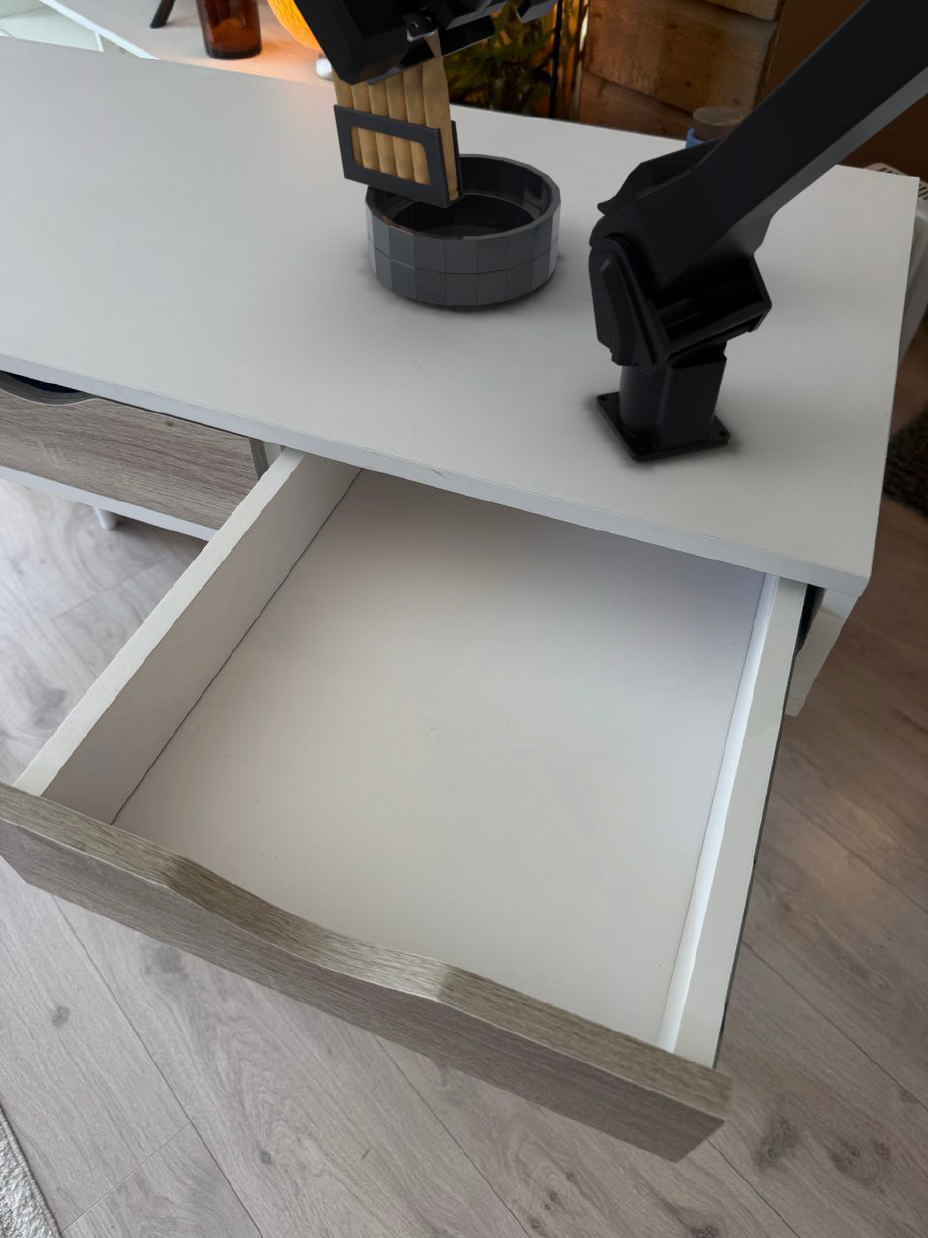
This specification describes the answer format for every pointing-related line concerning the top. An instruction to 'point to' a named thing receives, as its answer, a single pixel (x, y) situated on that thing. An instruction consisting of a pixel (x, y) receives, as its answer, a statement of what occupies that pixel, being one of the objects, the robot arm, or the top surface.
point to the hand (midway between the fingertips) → (377, 74)
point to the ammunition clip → (402, 133)
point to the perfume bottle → (712, 124)
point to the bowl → (468, 236)
